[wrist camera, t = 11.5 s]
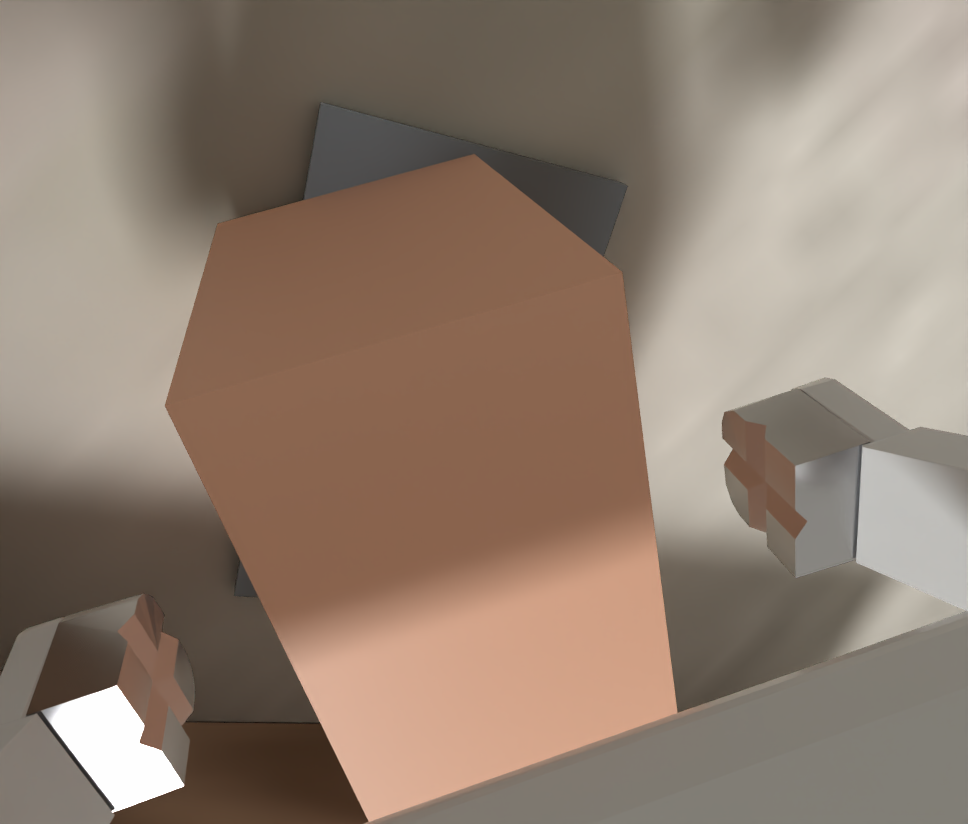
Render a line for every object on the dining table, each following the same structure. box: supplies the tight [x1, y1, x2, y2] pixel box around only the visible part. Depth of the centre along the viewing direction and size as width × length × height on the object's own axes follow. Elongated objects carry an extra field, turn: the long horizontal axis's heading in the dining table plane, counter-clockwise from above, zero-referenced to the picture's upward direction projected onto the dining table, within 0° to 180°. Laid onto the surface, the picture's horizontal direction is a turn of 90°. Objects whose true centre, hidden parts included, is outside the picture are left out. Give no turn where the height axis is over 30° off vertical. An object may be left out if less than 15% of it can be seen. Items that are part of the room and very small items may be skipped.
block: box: [165, 154, 677, 822], centre depth 11 cm, size 8×4×6 cm, turn 12°
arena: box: [110, 102, 628, 824], centre depth 12 cm, size 22×22×5 cm
